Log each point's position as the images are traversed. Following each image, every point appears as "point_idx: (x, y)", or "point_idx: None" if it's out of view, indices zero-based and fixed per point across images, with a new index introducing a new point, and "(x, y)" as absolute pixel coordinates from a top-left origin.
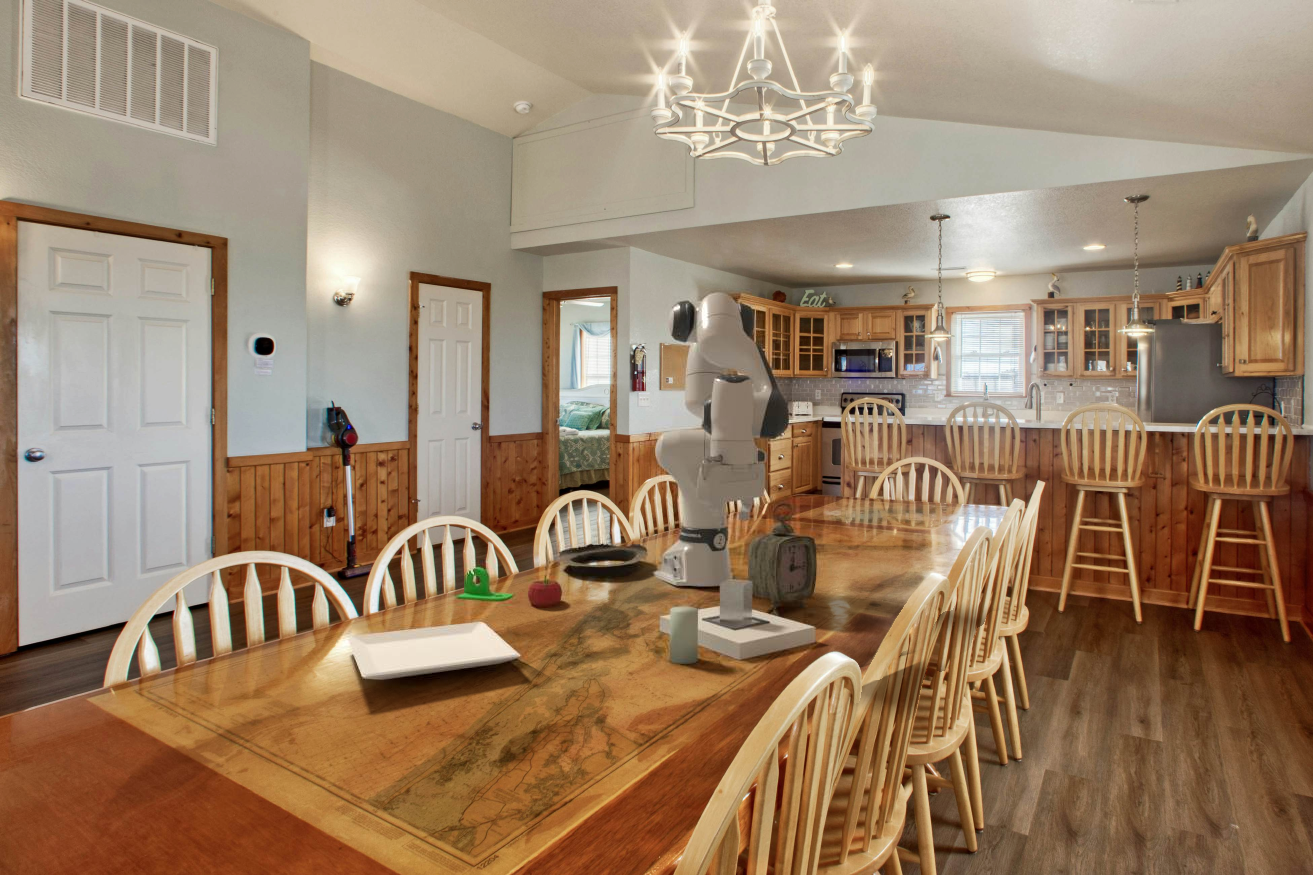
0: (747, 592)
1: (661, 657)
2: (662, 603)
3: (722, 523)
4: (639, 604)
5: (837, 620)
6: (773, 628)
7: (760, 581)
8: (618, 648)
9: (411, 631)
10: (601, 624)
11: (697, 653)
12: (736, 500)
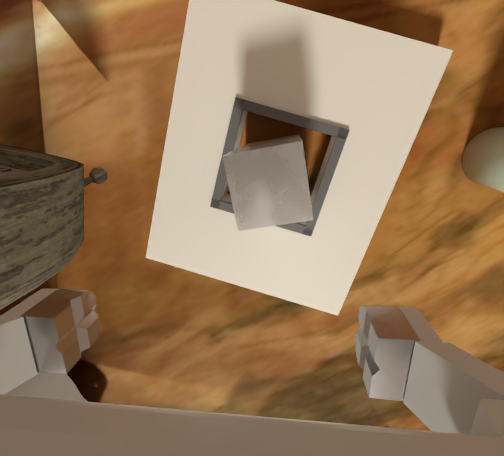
0: (267, 145)
1: (500, 199)
2: (167, 389)
3: (390, 308)
4: None
5: (10, 53)
6: (275, 61)
7: (68, 226)
8: (484, 293)
9: None
10: (357, 394)
11: (495, 129)
12: (211, 412)
